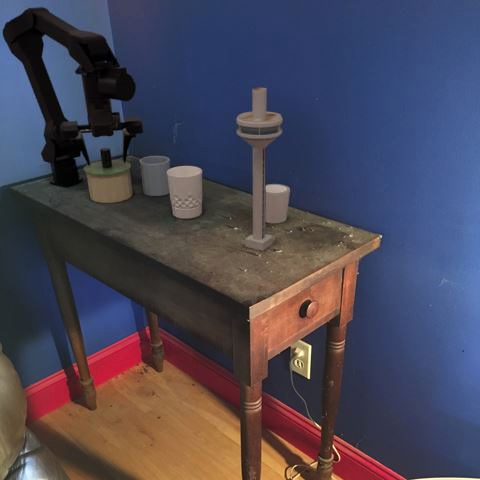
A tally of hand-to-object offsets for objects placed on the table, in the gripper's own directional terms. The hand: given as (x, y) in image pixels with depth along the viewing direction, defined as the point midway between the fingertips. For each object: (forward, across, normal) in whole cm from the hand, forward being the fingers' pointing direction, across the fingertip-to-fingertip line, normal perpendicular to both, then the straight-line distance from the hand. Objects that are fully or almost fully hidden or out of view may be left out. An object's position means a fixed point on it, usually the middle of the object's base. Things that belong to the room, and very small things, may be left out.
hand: (107, 163), depth 137 cm
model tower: (+8, +28, -39) cm, 48 cm away
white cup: (+8, +16, -18) cm, 25 cm away
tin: (+8, 0, 0) cm, 8 cm away
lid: (+1, 0, 0) cm, 1 cm away
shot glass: (+8, +35, -26) cm, 44 cm away
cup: (+8, +12, 0) cm, 14 cm away
